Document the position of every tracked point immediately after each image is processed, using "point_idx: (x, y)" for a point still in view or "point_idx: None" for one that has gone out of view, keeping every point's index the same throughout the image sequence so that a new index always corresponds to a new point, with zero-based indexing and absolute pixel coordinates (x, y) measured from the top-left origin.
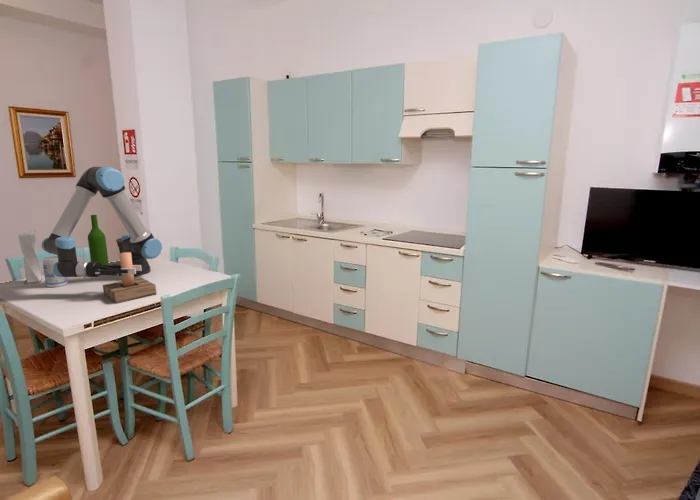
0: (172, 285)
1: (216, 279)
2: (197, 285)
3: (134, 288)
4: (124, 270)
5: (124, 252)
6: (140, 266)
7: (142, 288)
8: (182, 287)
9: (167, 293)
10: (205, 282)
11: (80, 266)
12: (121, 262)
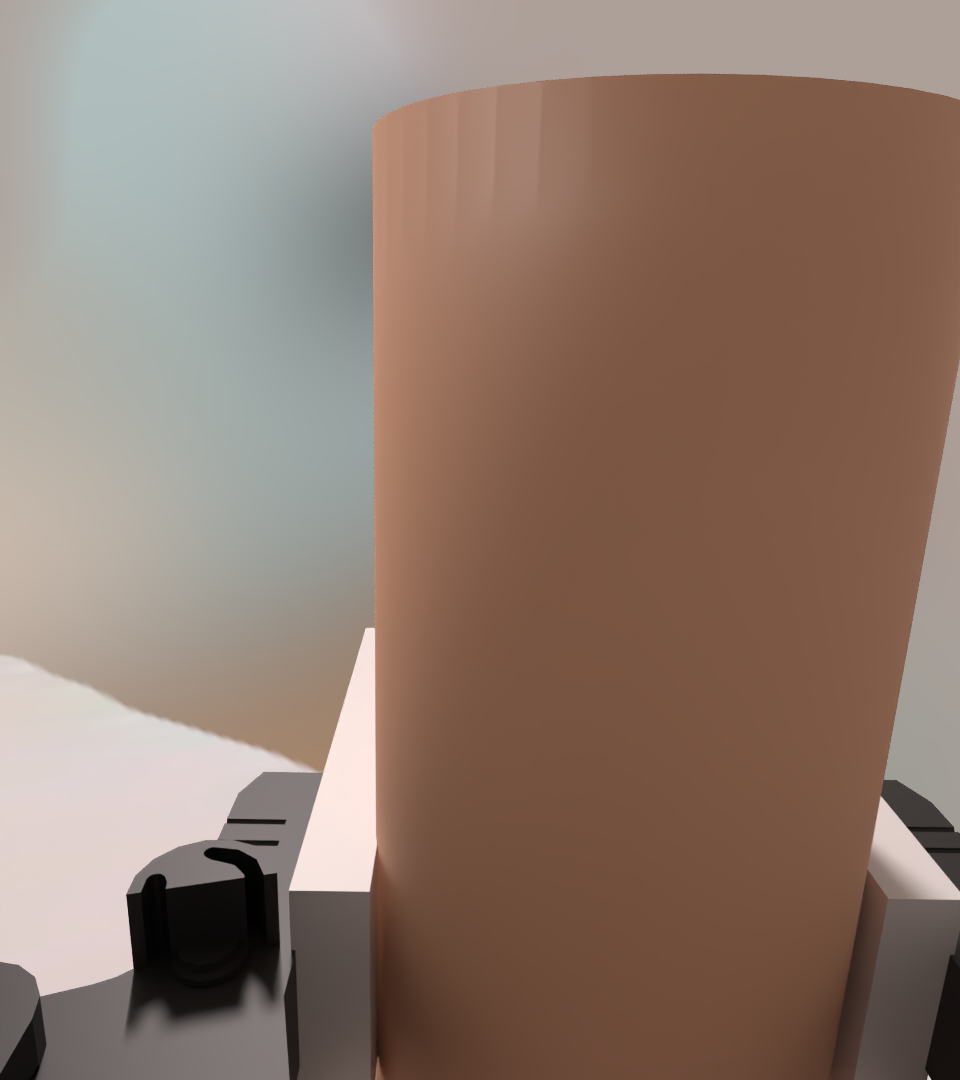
0: (28, 925)
1: (5, 657)
2: (169, 723)
3: None
4: (947, 823)
5: (434, 105)
6: None
7: None
8: (201, 807)
9: None
10: (76, 696)
11: None
12: (907, 628)
